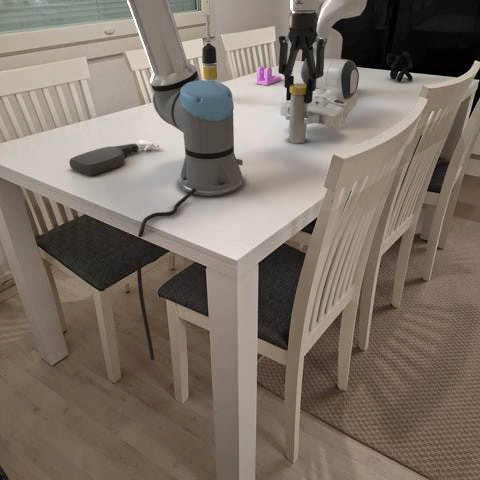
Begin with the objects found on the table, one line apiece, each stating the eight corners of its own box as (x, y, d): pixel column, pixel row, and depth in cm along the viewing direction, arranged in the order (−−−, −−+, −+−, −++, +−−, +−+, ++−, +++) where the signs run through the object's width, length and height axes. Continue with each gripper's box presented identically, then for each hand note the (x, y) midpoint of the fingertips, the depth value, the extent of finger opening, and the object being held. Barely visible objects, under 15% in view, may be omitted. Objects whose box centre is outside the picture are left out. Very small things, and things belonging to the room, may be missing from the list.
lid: (285, 92, 128) (286, 86, 127) (296, 88, 131) (296, 82, 130) (302, 95, 125) (303, 89, 124) (313, 91, 128) (313, 85, 127)
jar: (305, 138, 137) (308, 86, 129) (305, 143, 133) (308, 90, 125) (289, 137, 138) (291, 86, 130) (288, 143, 134) (290, 90, 126)
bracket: (267, 85, 196) (267, 68, 192) (256, 83, 199) (256, 67, 195) (282, 79, 205) (283, 63, 201) (272, 78, 208) (273, 62, 204)
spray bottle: (67, 168, 120) (139, 144, 136) (91, 178, 114) (163, 151, 130) (65, 157, 118) (137, 134, 134) (89, 167, 112) (162, 142, 128)
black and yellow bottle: (220, 99, 177) (217, 15, 161) (206, 100, 176) (202, 16, 160) (215, 96, 182) (212, 14, 166) (202, 97, 180) (197, 14, 164)
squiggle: (400, 92, 202) (376, 71, 205) (417, 76, 202) (392, 56, 205) (405, 81, 191) (380, 59, 194) (423, 64, 191) (397, 42, 194)
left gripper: (266, 11, 119) (264, 99, 131) (330, 14, 110) (322, 108, 122) (280, 9, 124) (277, 94, 136) (342, 11, 115) (334, 102, 127)
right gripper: (296, 93, 144) (269, 102, 136) (352, 104, 133) (326, 114, 124) (295, 112, 148) (268, 122, 139) (349, 125, 136) (324, 136, 127)
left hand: (299, 100), depth 129 cm, fingers closed on lid, 6 cm apart
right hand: (296, 119), depth 131 cm, fingers closed on jar, 5 cm apart
